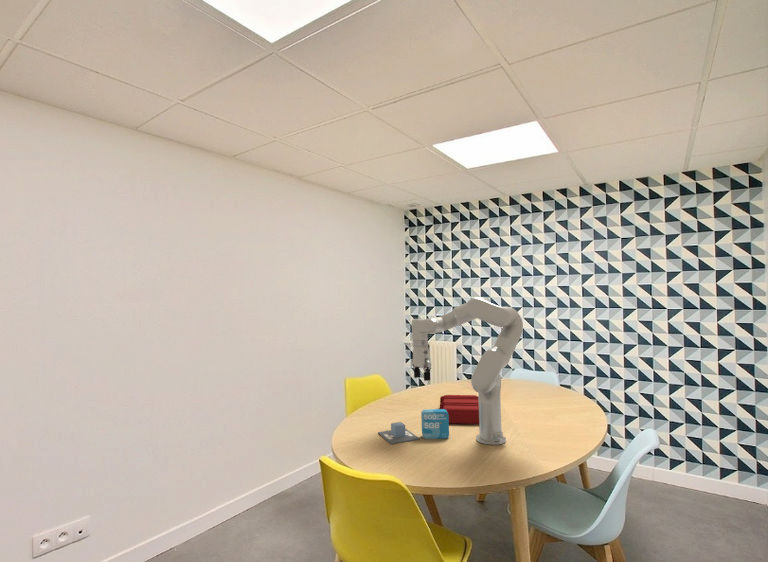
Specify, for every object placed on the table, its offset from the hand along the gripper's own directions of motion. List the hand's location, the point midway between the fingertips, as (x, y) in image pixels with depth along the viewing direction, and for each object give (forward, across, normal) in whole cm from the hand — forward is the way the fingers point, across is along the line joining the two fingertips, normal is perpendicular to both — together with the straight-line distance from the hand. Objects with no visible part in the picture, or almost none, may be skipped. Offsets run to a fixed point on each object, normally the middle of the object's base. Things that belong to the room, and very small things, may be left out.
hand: (422, 378), depth 192 cm
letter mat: (+24, -4, +16) cm, 29 cm away
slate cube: (+23, -4, +16) cm, 28 cm away
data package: (+24, -12, +1) cm, 27 cm away
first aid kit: (+25, +10, -29) cm, 39 cm away
